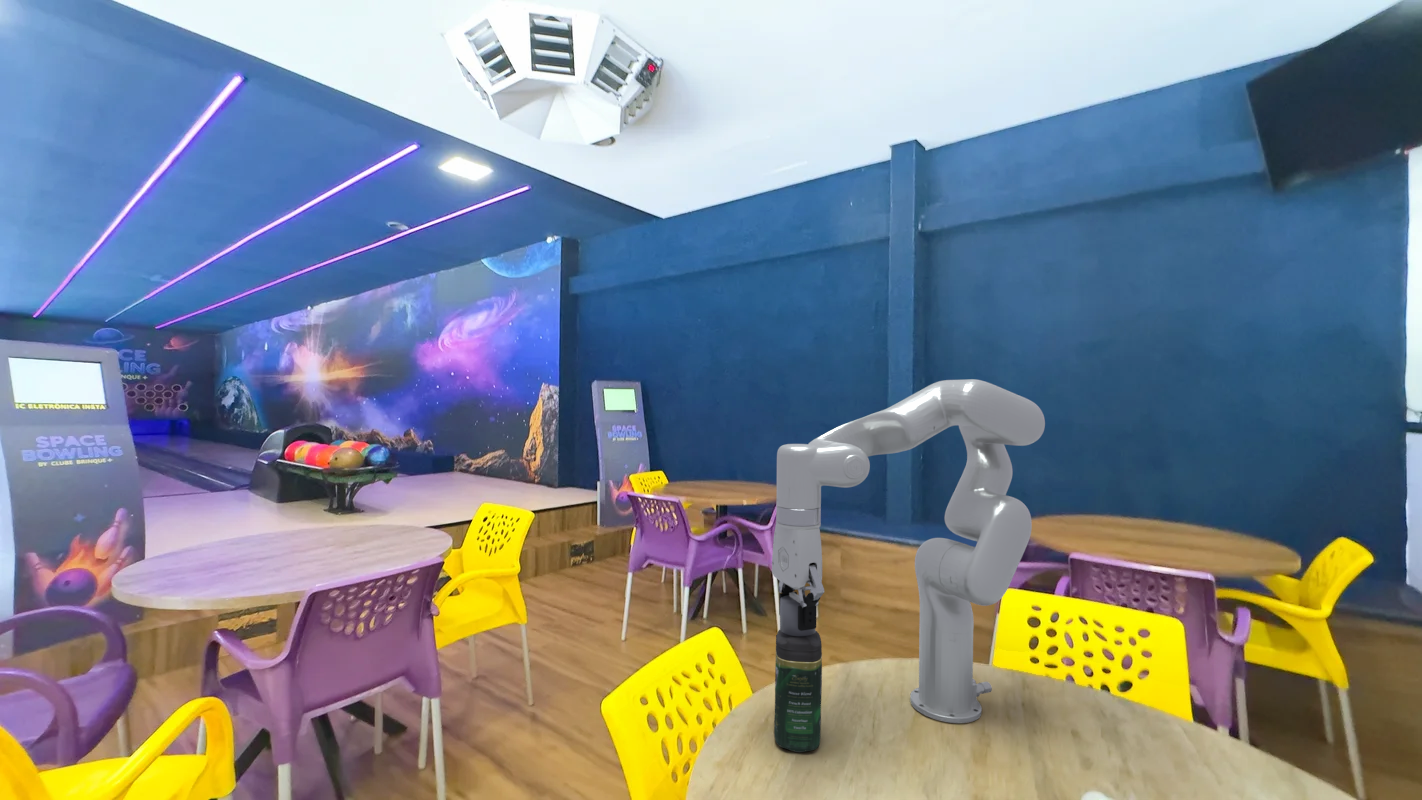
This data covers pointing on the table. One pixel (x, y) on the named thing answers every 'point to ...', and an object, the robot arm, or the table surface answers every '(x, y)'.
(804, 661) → the coffee jar
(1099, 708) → the table surface
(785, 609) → the lid
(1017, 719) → the table surface
